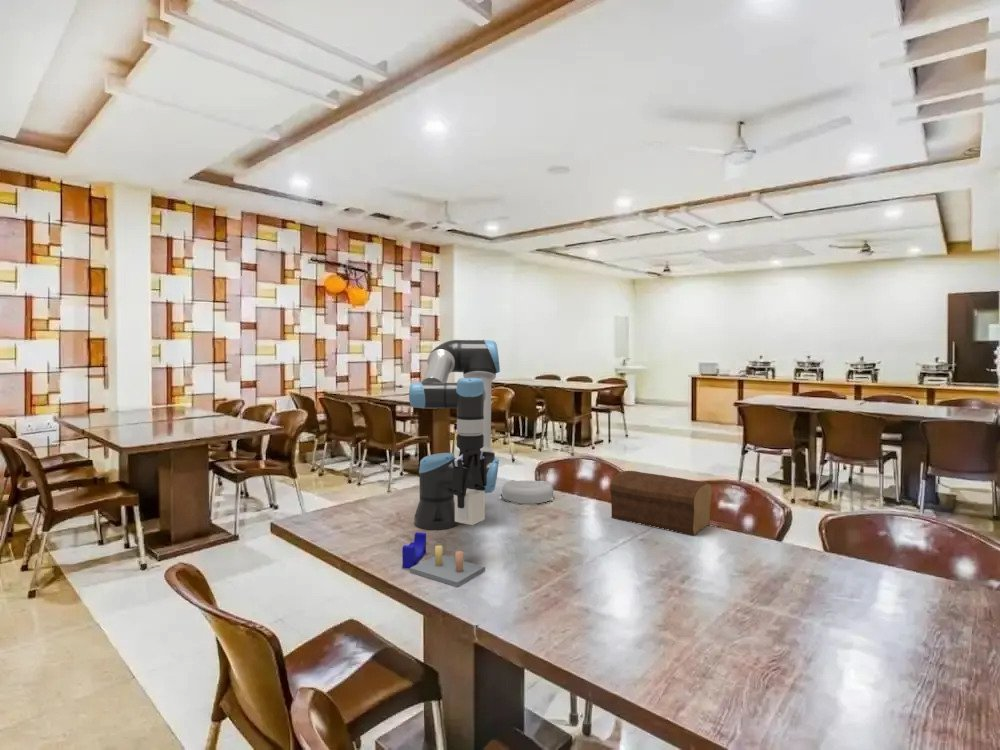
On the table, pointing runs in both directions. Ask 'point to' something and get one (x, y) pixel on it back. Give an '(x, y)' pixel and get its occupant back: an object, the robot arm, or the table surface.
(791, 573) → the table surface
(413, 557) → the blue arched piece
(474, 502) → the cream rectangular block
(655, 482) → the bread
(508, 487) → the round ceiling alarm
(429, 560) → the board
